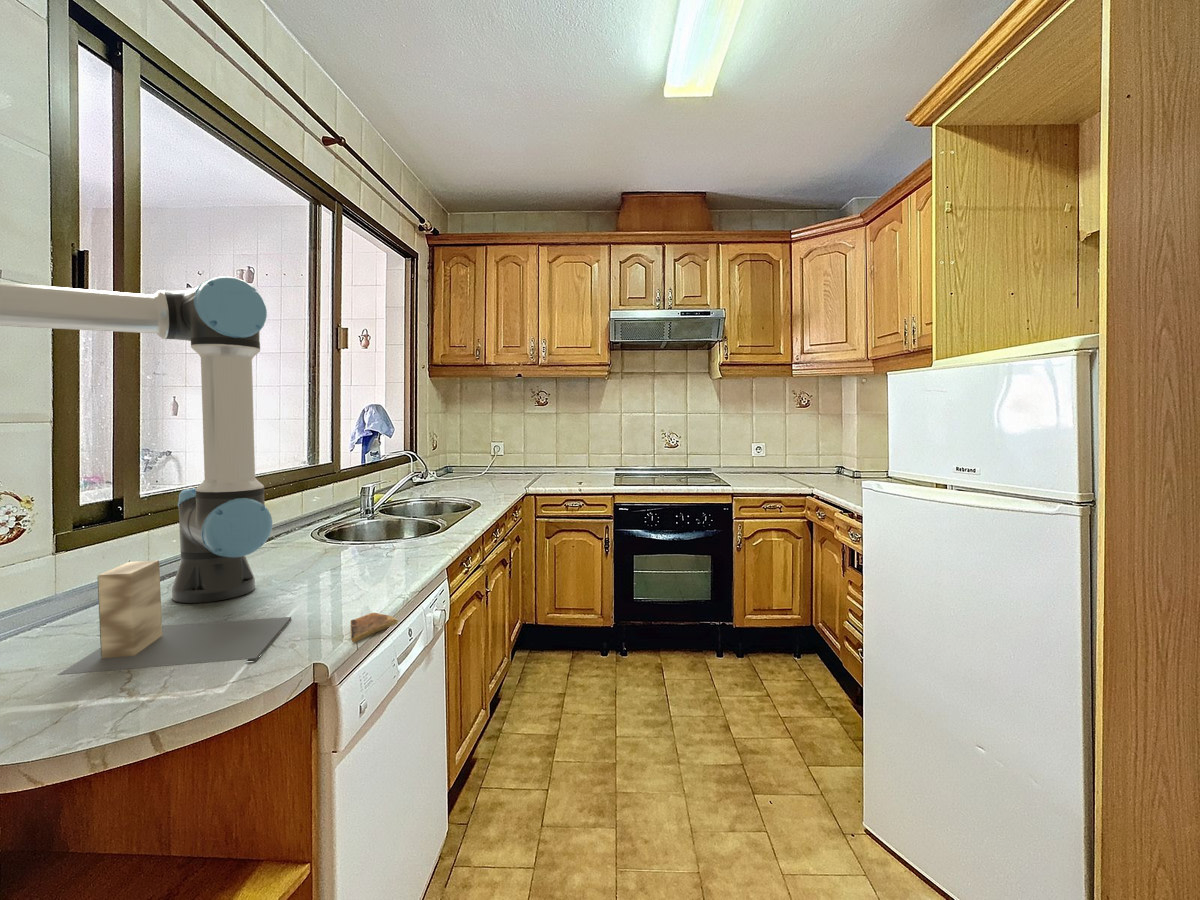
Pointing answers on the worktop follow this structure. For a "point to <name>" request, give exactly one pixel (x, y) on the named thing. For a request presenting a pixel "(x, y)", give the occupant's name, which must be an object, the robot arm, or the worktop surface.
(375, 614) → the shard
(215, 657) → the rubber mat
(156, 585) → the birch block
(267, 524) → the robot arm
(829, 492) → the worktop surface
